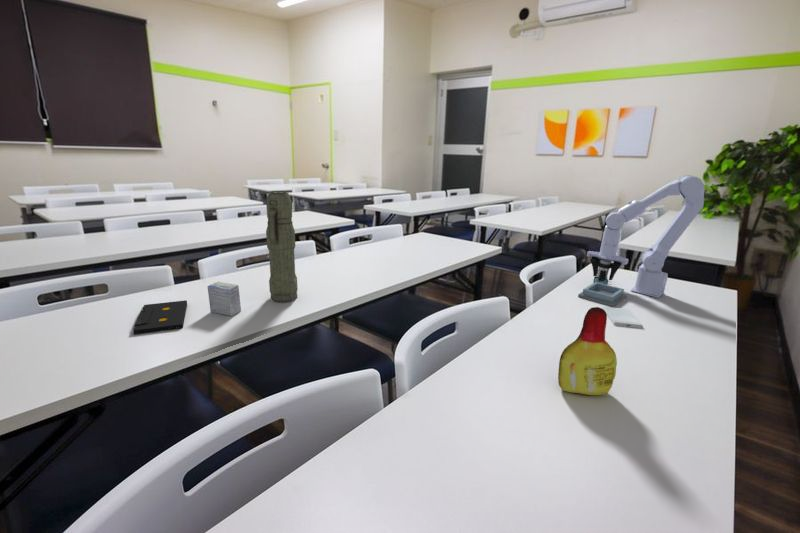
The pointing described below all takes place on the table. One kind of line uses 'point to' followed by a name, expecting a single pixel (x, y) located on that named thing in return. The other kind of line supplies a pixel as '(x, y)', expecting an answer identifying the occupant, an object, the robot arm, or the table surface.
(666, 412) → the table surface
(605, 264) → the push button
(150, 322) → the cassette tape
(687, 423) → the table surface
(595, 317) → the bottle
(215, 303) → the grey layered block
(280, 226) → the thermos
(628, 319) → the hard drive
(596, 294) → the end holder
